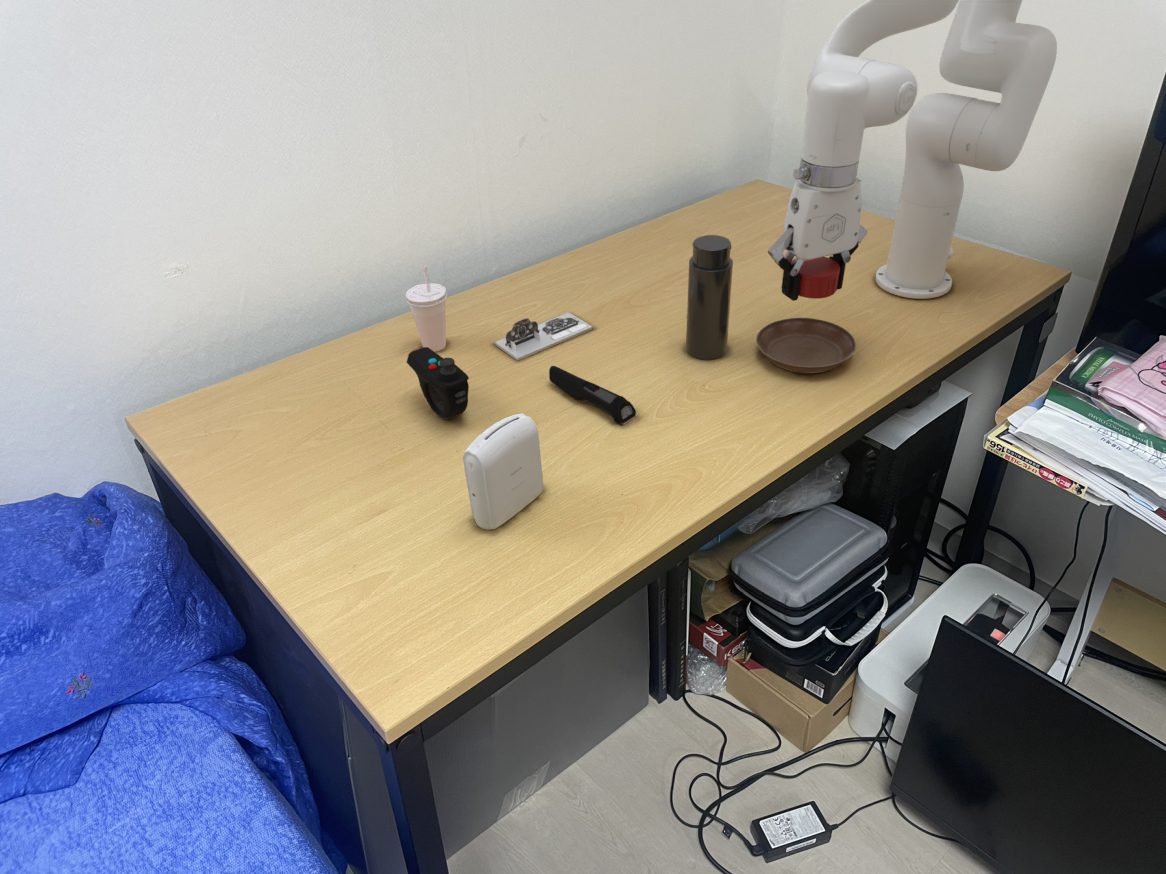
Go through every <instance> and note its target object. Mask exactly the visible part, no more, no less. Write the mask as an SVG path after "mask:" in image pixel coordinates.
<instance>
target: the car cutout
mask: <svg viewBox="0 0 1166 874" xmlns="http://www.w3.org/2000/svg"><path fill="white" fill-rule="evenodd" d="M592 330H594V326H592V325H590V324H589V323H588V322H586V321H584V320H582V319H581V318H579V317H577V316H576V315H574V314H573V313H571V312H565V313H563V314H561V315H558V316H555V317H553V318H550V319H547V320H545V321H543V322H540V323H538V322H537V321H535V320H533V321H531V320H530V319H529V318H523V319H521V320H518V321H516V322H514V323H513V325H512V327H511V330H508V331H507V332H506V335H505V337H503V338H501V339H498V340H496V341H494V343H493V344H494V345H495V346H496V347H497V348H499V349H500V350H502V351H503V352H504V353H506V354H507V355H509V356H510V357H511V358H512V359H514V360H515V361H516V362H517V361H520V360H523V359H526V358H528V357H530V356H533V355H535V354H537V353H540V352H542V351H544V350H546V349H547V350H548V349H549V348H552V347H554V346H556V345H559V344H561V343H564V342H566V341H569V340H570V339H571V340H572V339H573V338H575V337H578V336H580V335H582V334H585V333H587V332H590V331H592Z"/></svg>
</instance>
